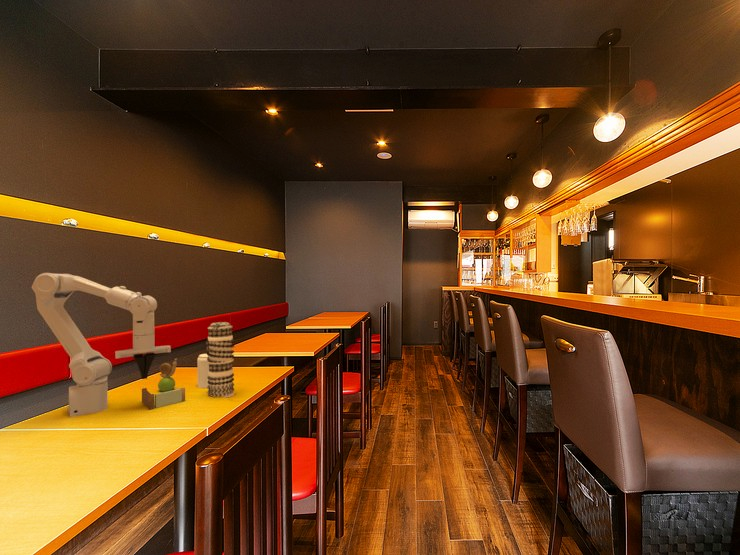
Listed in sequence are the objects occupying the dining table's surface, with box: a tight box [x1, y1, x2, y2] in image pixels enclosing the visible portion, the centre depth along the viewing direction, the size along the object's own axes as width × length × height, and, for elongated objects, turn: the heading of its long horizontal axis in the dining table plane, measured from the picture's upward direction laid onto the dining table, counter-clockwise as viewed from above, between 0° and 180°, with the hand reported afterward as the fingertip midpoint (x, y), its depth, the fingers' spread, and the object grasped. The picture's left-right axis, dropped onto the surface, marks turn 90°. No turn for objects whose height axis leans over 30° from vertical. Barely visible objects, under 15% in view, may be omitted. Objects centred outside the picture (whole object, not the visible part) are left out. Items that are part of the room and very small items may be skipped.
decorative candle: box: [205, 321, 235, 399], centre depth 124 cm, size 9×9×25 cm
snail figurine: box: [157, 358, 178, 393], centre depth 129 cm, size 5×6×12 cm
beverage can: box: [196, 353, 209, 389], centre depth 135 cm, size 8×8×12 cm
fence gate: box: [154, 387, 186, 409], centre depth 114 cm, size 9×1×4 cm, turn 139°
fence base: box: [141, 387, 155, 410], centre depth 113 cm, size 2×11×4 cm, turn 43°
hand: (144, 378), depth 112 cm, fingers closed
